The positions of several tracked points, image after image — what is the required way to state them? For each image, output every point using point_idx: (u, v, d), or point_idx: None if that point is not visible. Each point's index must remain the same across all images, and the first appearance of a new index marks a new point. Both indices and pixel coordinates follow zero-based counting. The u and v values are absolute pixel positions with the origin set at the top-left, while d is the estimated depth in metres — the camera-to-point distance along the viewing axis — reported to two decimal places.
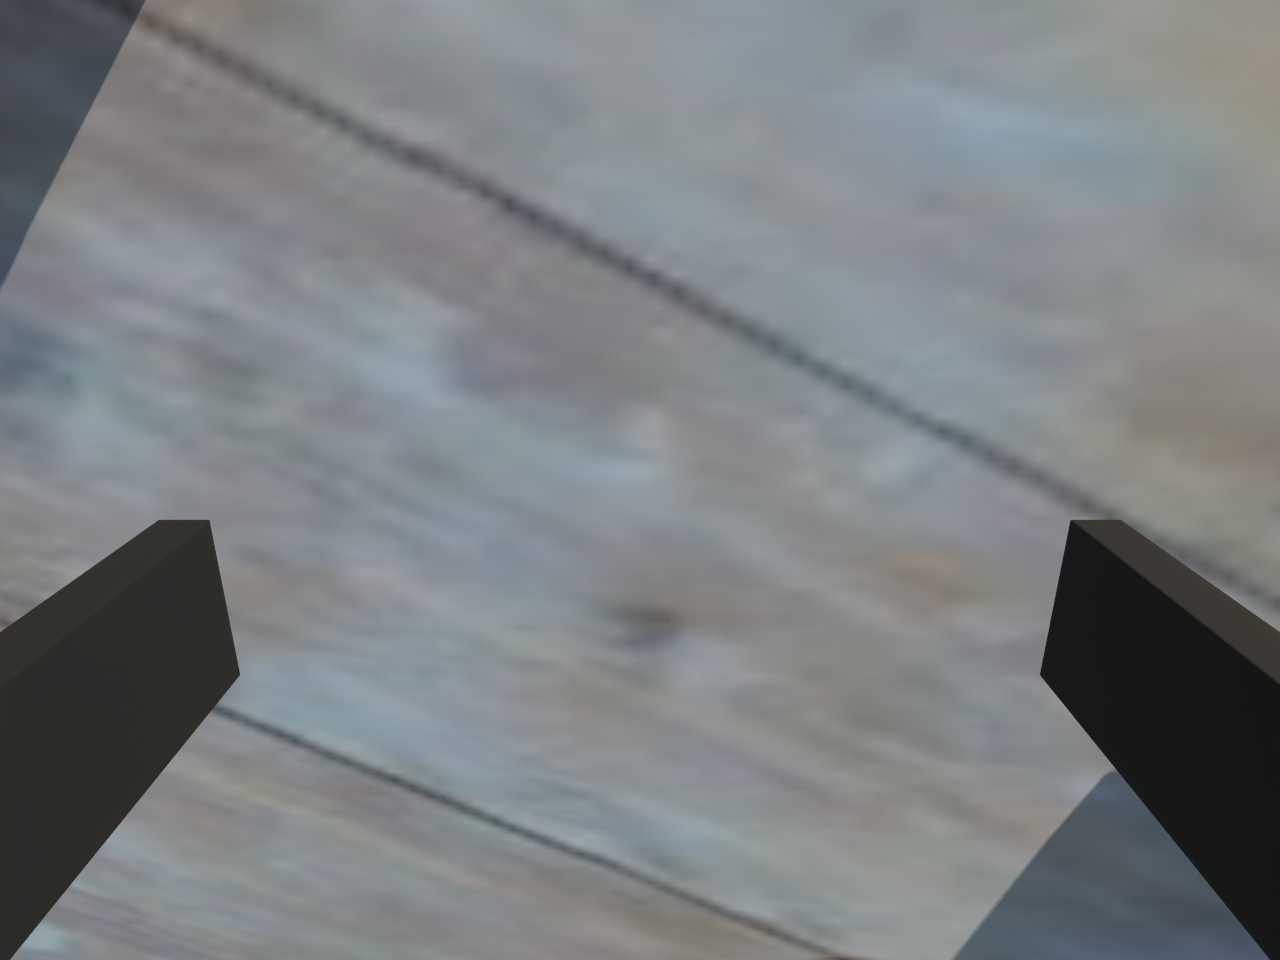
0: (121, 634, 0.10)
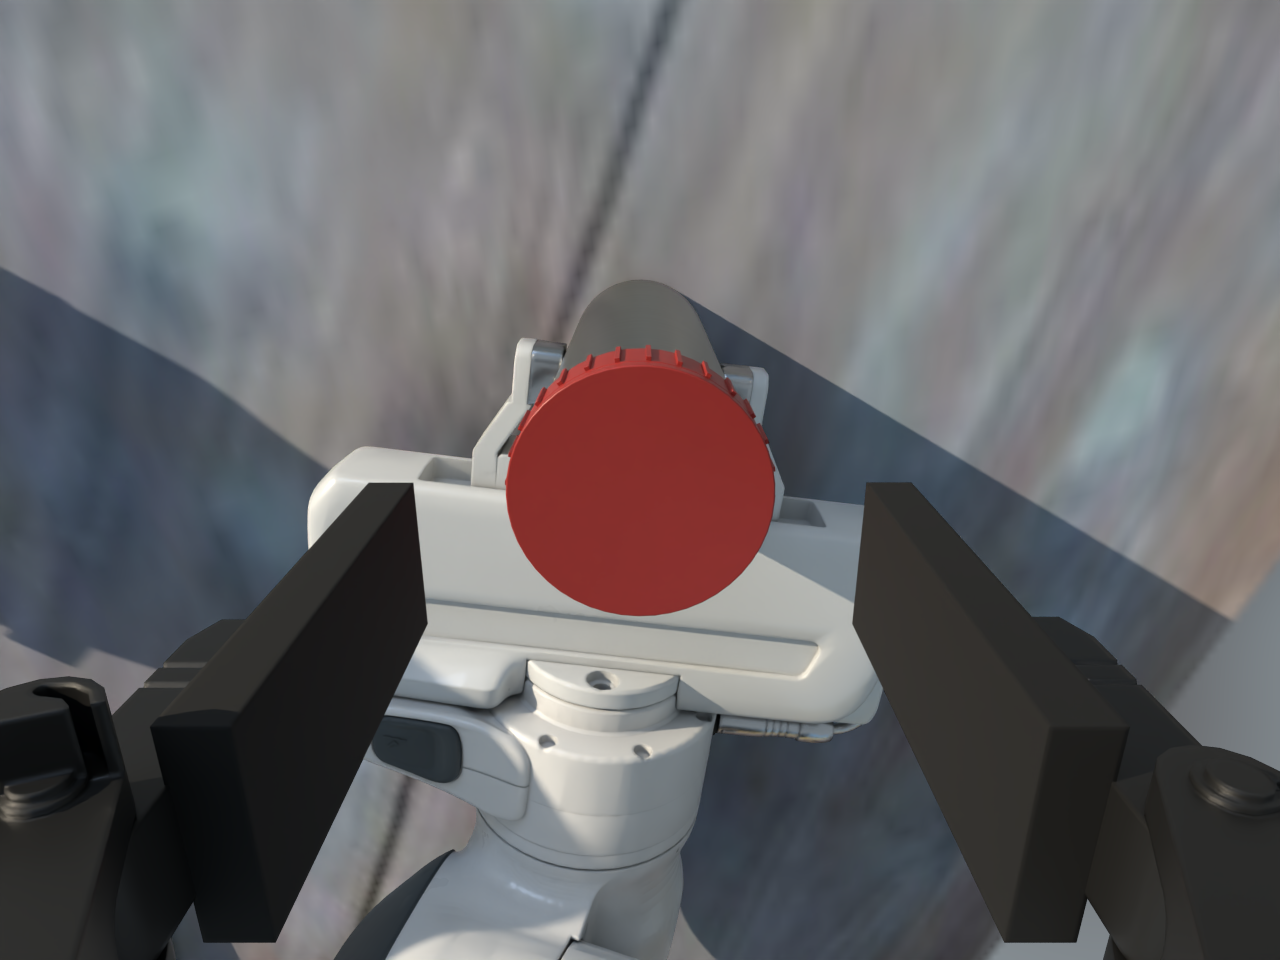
0: (373, 576, 0.12)
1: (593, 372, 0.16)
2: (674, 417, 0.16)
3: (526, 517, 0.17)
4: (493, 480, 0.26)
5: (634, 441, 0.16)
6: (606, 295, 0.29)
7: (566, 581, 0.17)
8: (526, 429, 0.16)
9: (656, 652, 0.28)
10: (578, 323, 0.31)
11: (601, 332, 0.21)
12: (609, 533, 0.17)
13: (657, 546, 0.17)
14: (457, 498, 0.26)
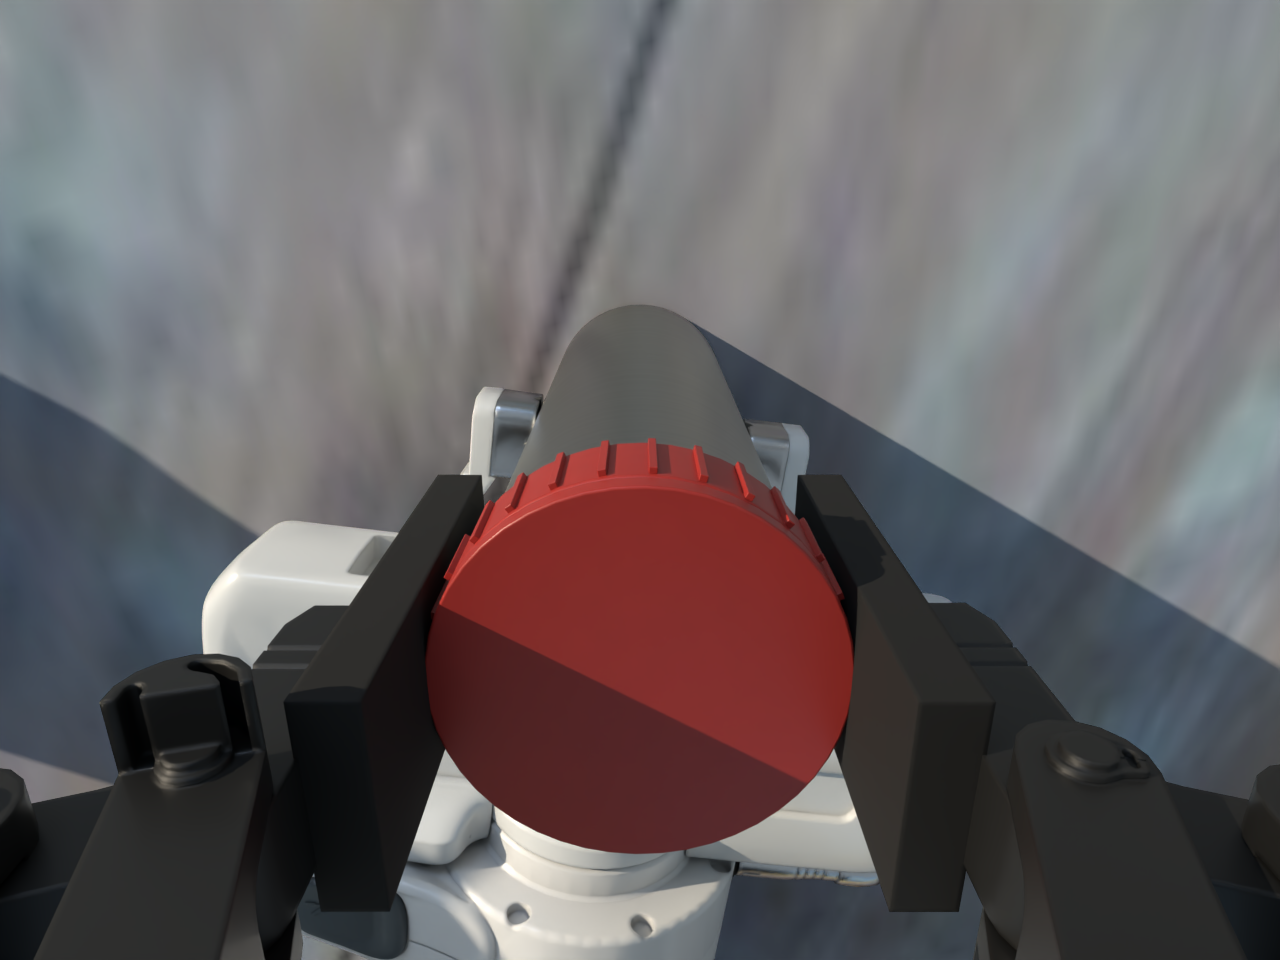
0: None
1: (562, 497, 0.10)
2: (696, 568, 0.10)
3: (458, 715, 0.11)
4: None
5: (629, 603, 0.10)
6: (596, 326, 0.23)
7: (524, 806, 0.11)
8: (454, 585, 0.10)
9: None
10: None
11: (585, 394, 0.15)
12: (589, 738, 0.11)
13: (666, 757, 0.11)
14: None
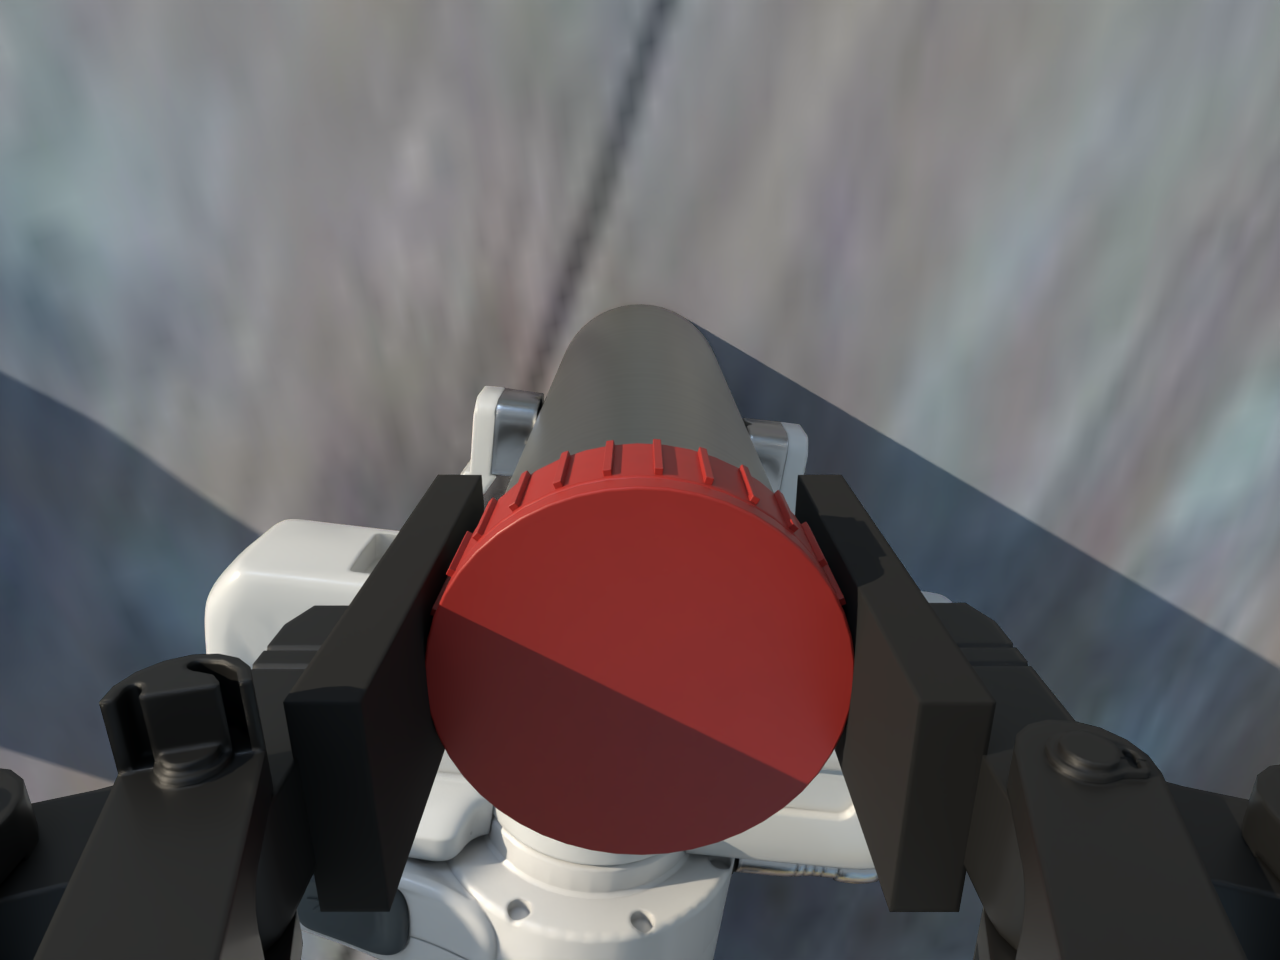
0: None
1: (494, 803, 0.11)
2: (496, 694, 0.10)
3: (739, 811, 0.11)
4: None
5: (558, 728, 0.11)
6: (597, 326, 0.23)
7: (821, 730, 0.11)
8: (611, 849, 0.11)
9: None
10: (562, 359, 0.24)
11: (585, 393, 0.15)
12: (715, 706, 0.11)
13: (707, 636, 0.10)
14: None
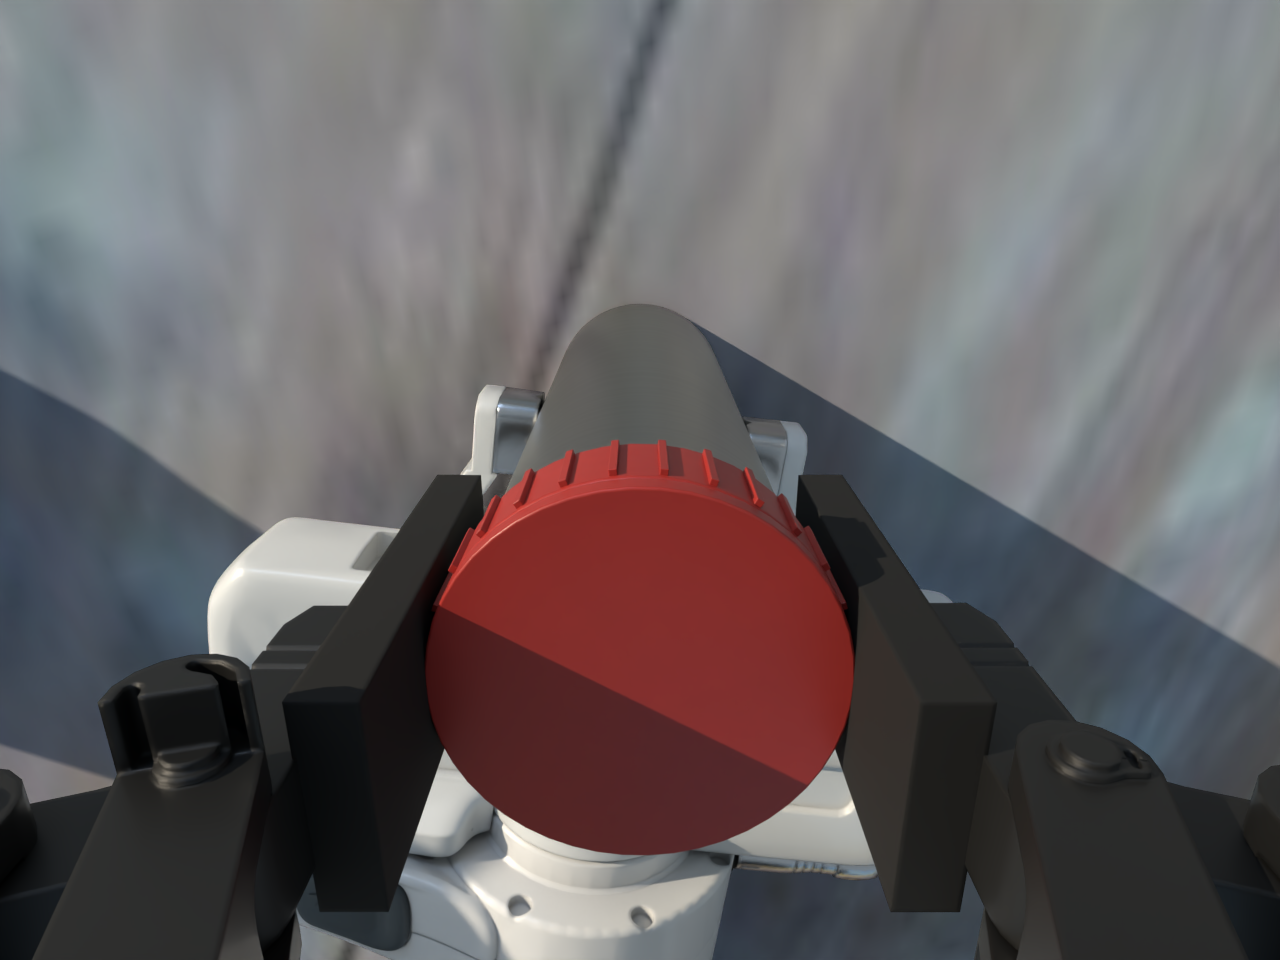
0: None
1: (831, 751, 0.11)
2: (701, 791, 0.11)
3: (743, 543, 0.10)
4: None
5: (715, 735, 0.11)
6: (597, 325, 0.23)
7: (606, 512, 0.10)
8: (847, 637, 0.10)
9: None
10: None
11: (586, 391, 0.16)
12: (627, 620, 0.10)
13: (555, 658, 0.10)
14: None
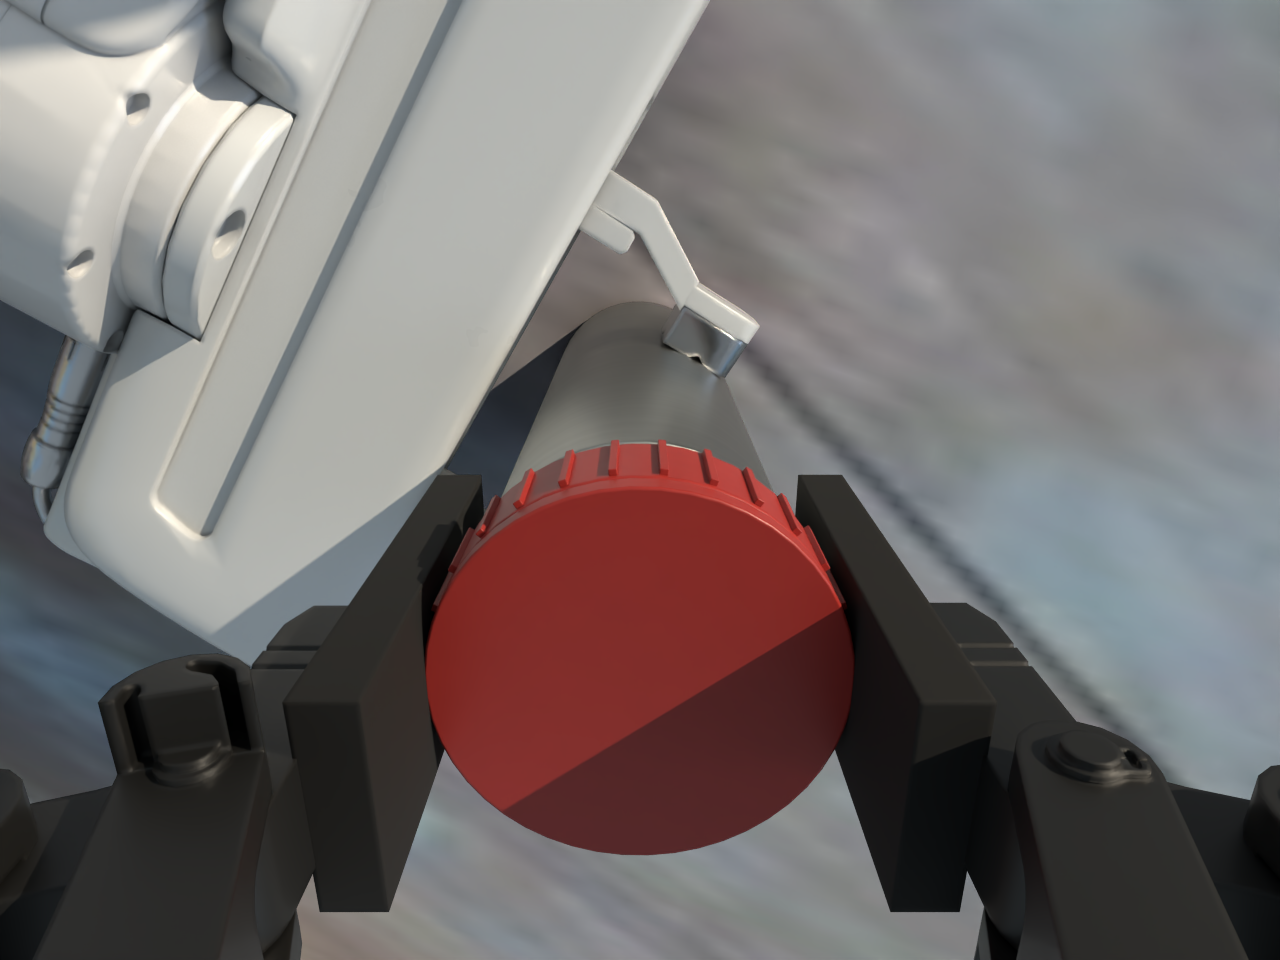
0: None
1: (831, 751, 0.11)
2: (701, 791, 0.11)
3: (743, 543, 0.10)
4: (602, 207, 0.17)
5: (715, 735, 0.11)
6: None
7: (606, 512, 0.10)
8: (846, 637, 0.10)
9: (250, 319, 0.18)
10: None
11: None
12: (627, 620, 0.10)
13: (555, 658, 0.10)
14: (605, 150, 0.16)
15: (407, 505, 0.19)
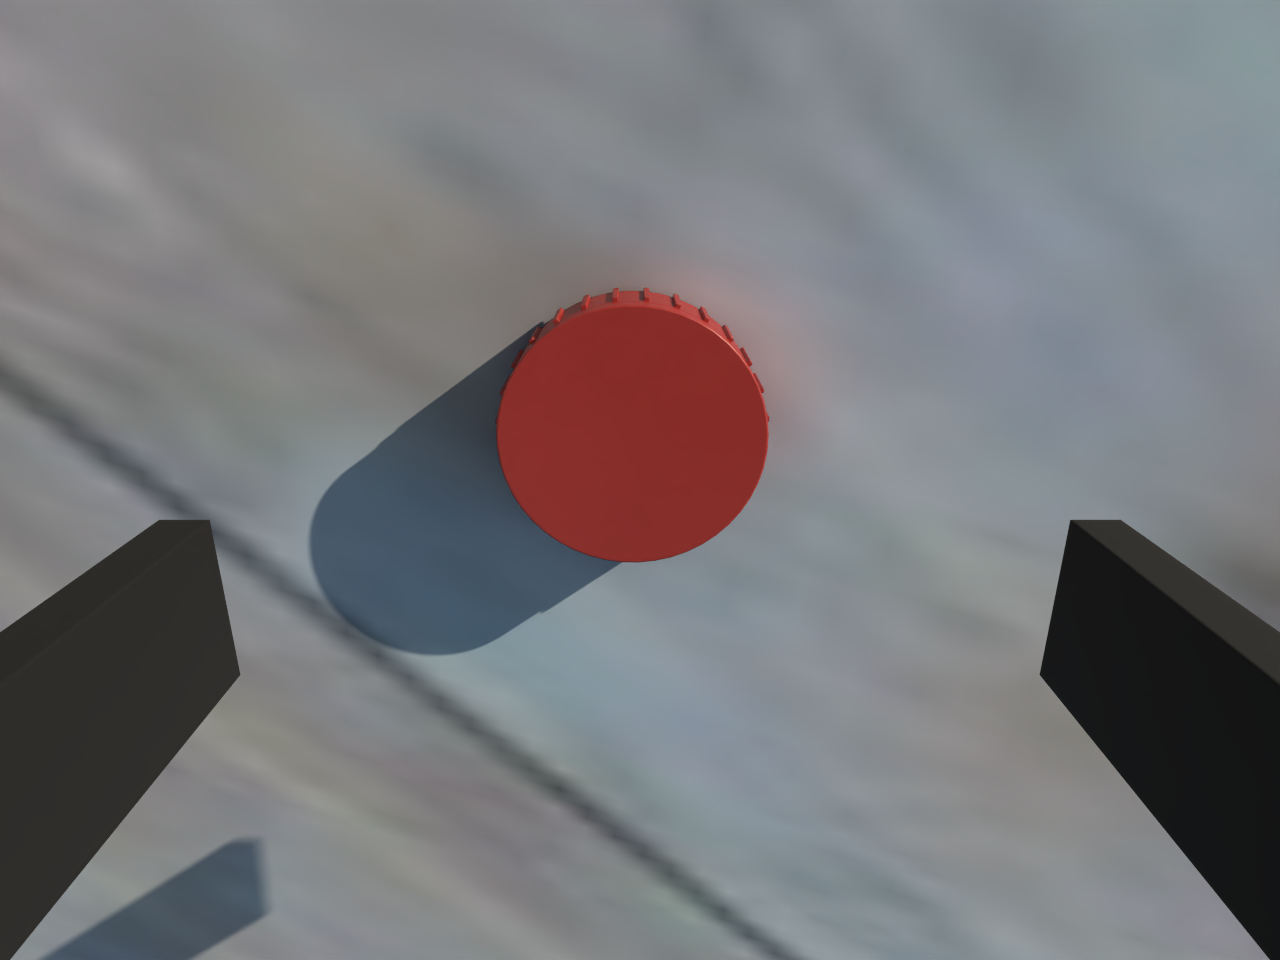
0: (121, 635, 0.10)
1: (755, 486, 0.17)
2: (672, 515, 0.17)
3: (695, 341, 0.16)
4: None
5: (680, 474, 0.17)
6: None
7: (611, 321, 0.16)
8: (762, 406, 0.16)
9: None
10: None
11: None
12: (623, 394, 0.16)
13: (579, 420, 0.16)
14: None
15: None
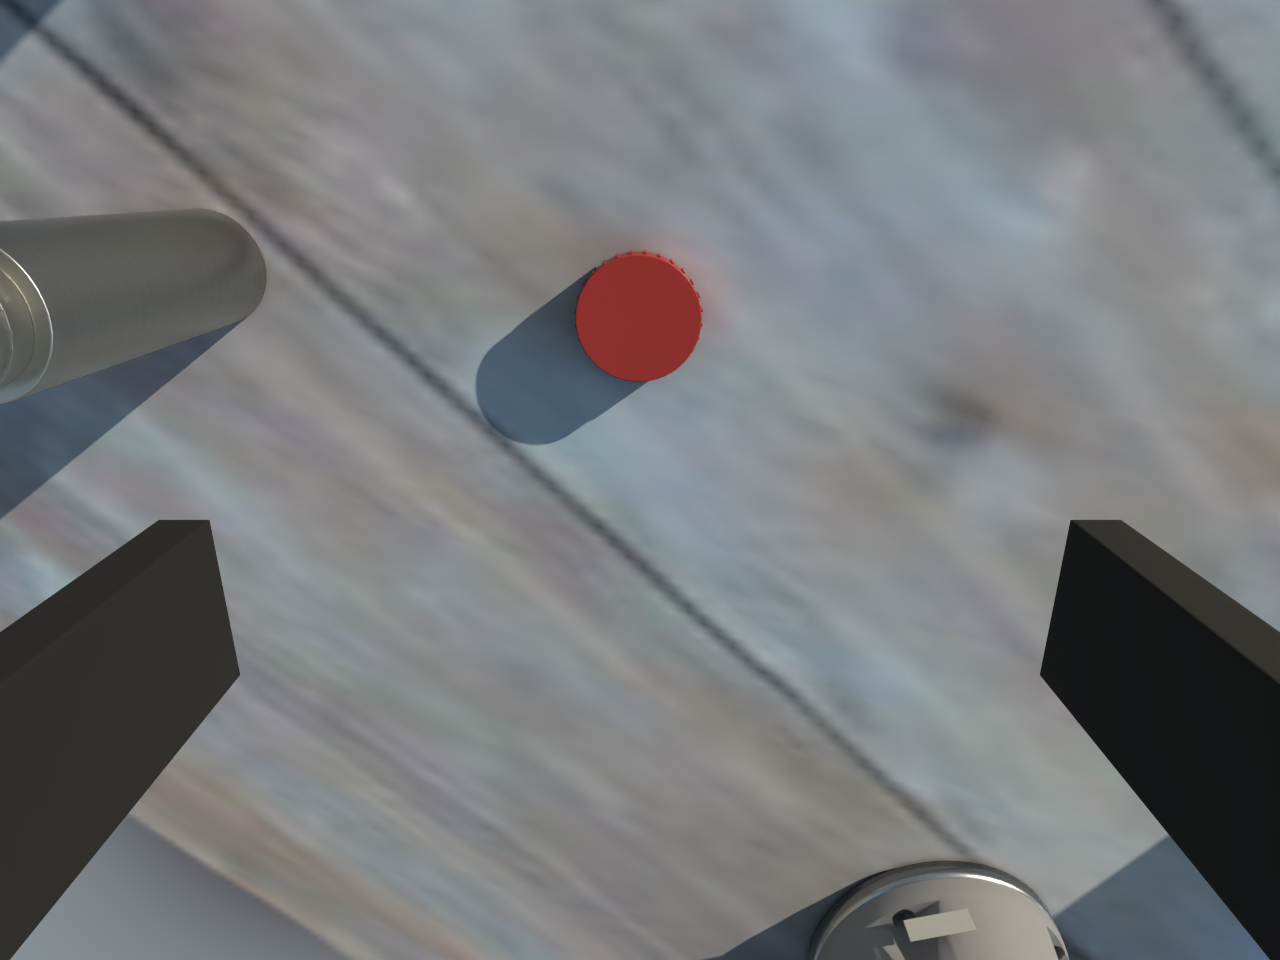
0: (122, 635, 0.10)
1: None
2: (657, 357, 0.36)
3: (667, 272, 0.35)
4: None
5: (661, 336, 0.36)
6: (243, 269, 0.35)
7: (629, 262, 0.35)
8: (698, 302, 0.35)
9: None
10: (235, 230, 0.35)
11: (133, 300, 0.27)
12: (634, 296, 0.35)
13: (614, 309, 0.36)
14: None
15: None
